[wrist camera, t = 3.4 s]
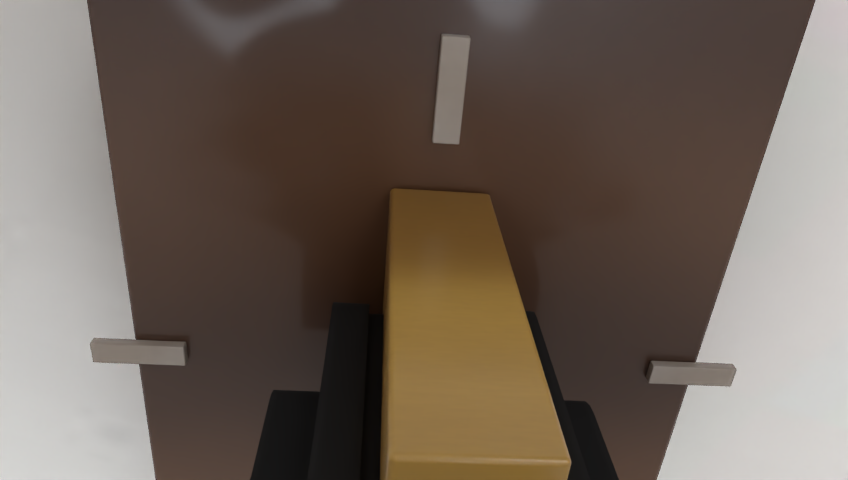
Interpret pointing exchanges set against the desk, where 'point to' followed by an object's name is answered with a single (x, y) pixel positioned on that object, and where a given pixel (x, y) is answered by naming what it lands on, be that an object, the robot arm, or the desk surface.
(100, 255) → the desk surface
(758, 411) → the desk surface
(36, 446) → the desk surface
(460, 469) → the tap handle
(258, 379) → the tap block
